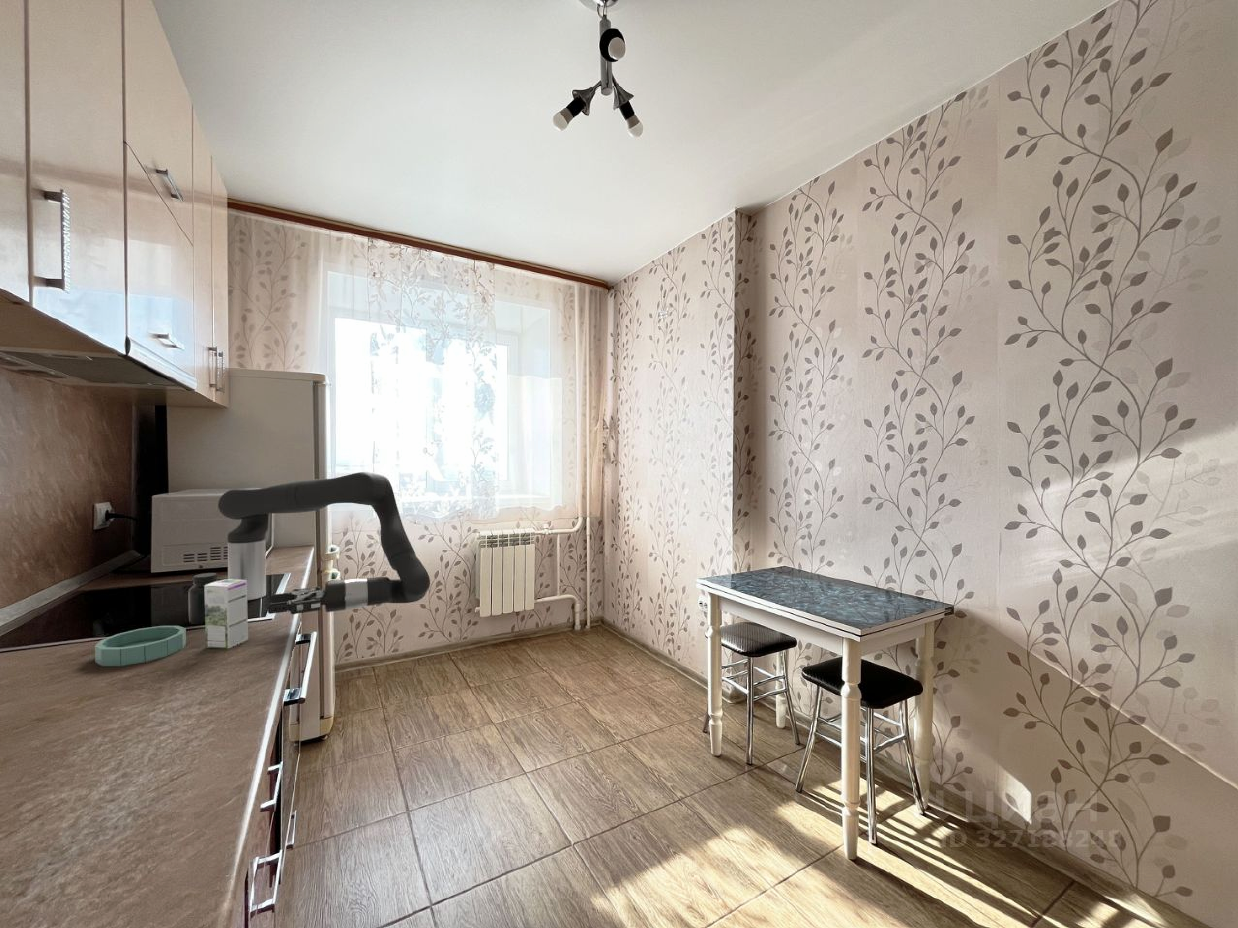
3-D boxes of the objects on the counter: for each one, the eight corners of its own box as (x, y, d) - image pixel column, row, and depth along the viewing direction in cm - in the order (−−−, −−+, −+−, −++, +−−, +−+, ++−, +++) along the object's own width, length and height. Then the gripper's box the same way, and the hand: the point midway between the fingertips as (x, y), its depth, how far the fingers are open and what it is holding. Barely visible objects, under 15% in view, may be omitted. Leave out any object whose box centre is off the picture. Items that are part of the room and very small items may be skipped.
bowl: (109, 648, 112) (109, 632, 112) (190, 636, 120) (190, 621, 120) (85, 671, 100) (85, 654, 100) (177, 656, 108) (176, 640, 108)
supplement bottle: (182, 623, 129) (181, 576, 129) (210, 614, 136) (209, 570, 135) (201, 625, 127) (200, 578, 127) (229, 617, 134) (228, 572, 133)
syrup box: (249, 639, 118) (248, 578, 117) (227, 649, 112) (226, 585, 112) (227, 638, 118) (226, 577, 118) (204, 648, 112) (203, 584, 112)
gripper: (344, 574, 134) (271, 581, 126) (348, 586, 122) (267, 595, 113) (345, 601, 134) (271, 611, 126) (348, 616, 122) (267, 628, 114)
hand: (269, 604), depth 120 cm, fingers open, 8 cm apart
